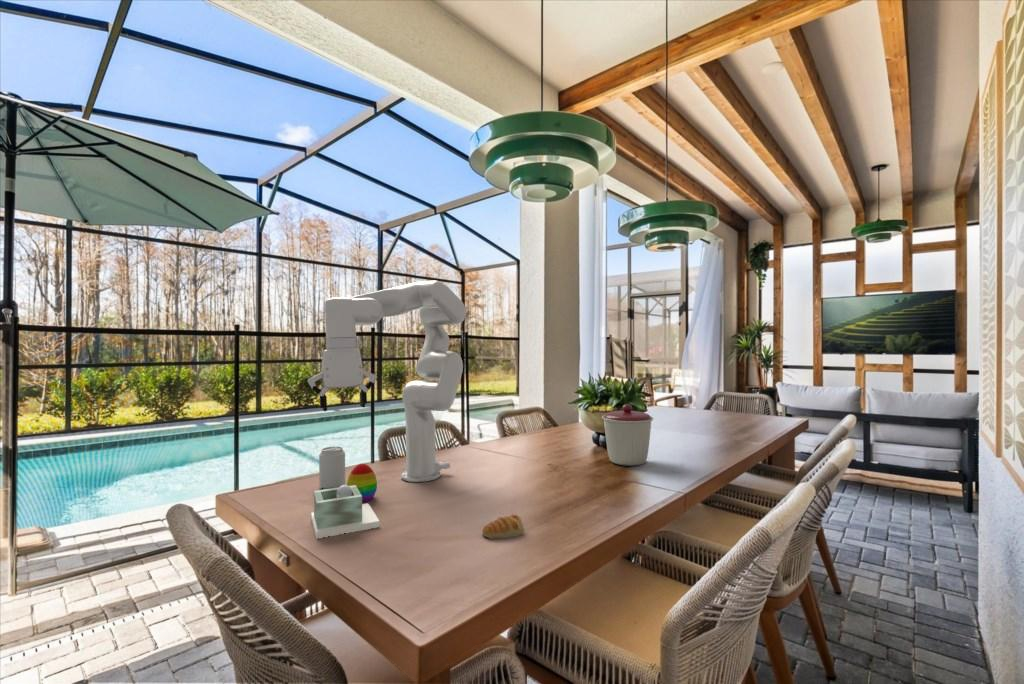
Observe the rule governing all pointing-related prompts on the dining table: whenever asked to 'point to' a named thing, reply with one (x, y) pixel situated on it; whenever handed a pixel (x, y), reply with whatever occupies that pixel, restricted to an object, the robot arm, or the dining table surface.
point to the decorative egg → (363, 481)
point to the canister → (627, 436)
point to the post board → (367, 523)
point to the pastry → (504, 527)
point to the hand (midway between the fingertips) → (344, 408)
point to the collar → (337, 508)
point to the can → (331, 467)
